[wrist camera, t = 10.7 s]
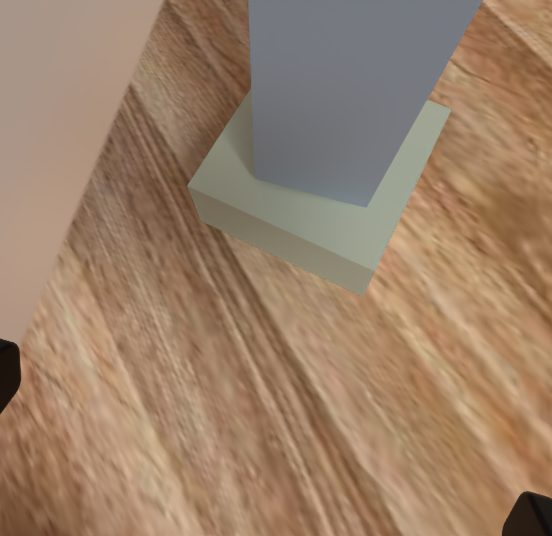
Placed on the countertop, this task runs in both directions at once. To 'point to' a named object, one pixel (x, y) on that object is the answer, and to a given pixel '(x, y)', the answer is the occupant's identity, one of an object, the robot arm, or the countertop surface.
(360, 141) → the grey tall block
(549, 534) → the robot arm
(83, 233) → the countertop surface
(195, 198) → the sage block
